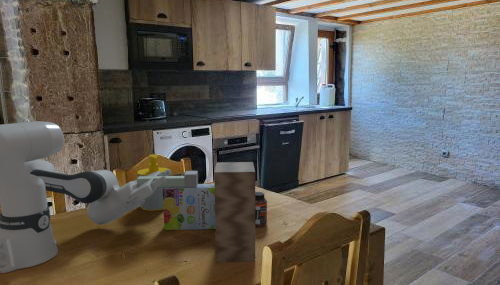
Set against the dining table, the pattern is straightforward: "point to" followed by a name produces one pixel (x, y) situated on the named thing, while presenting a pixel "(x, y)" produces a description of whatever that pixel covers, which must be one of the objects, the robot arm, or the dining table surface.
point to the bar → (173, 180)
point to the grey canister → (156, 198)
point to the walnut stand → (235, 211)
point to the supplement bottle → (260, 209)
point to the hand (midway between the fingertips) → (168, 174)
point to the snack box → (189, 207)
